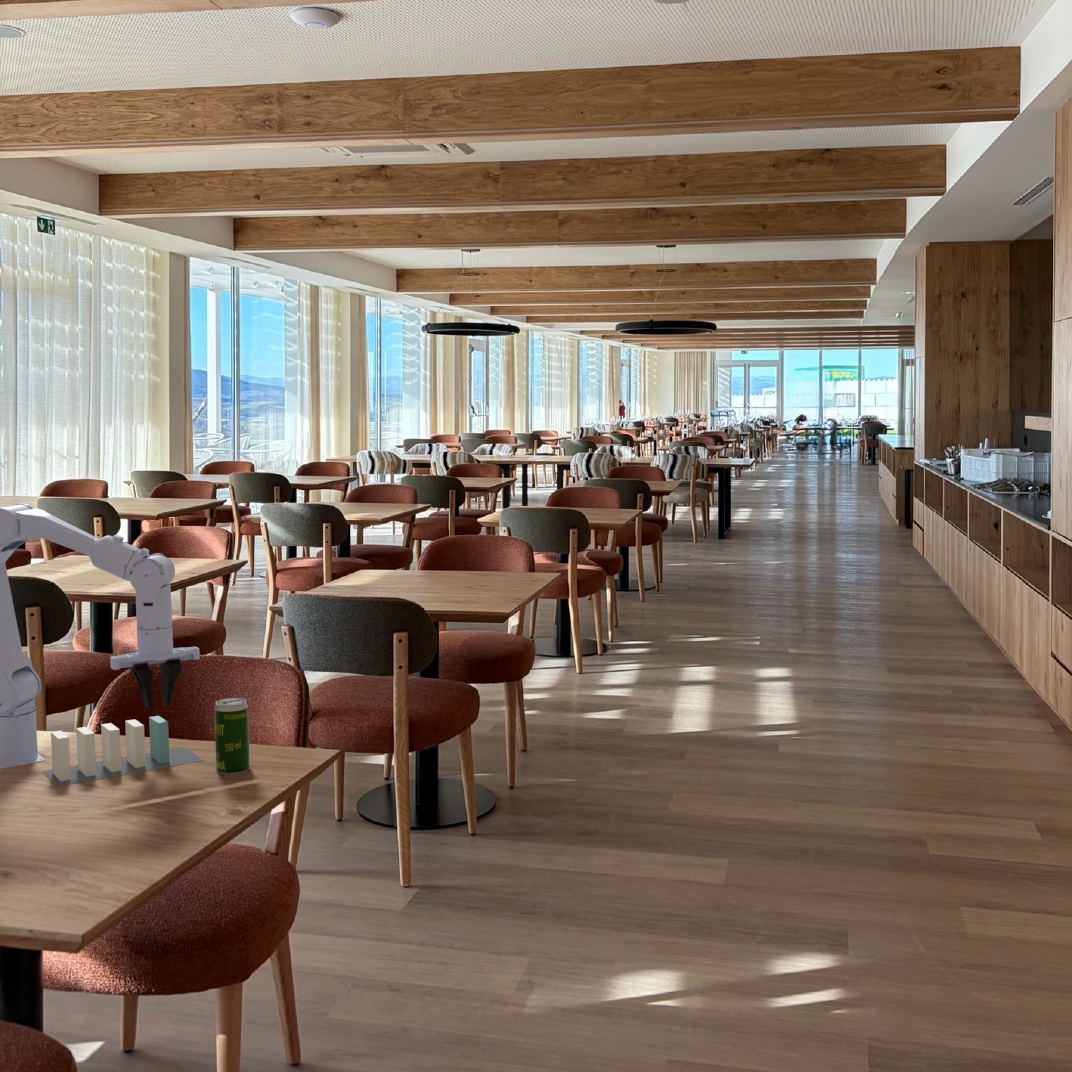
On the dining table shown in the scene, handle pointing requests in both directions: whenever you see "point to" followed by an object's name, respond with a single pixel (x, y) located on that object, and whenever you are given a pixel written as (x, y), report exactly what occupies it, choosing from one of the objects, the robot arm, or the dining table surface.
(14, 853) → the dining table surface
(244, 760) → the green drink can
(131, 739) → the ivory domino
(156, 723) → the teal domino
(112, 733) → the ivory domino
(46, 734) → the dining table surface
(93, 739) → the ivory domino
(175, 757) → the charcoal mat
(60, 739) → the ivory domino
